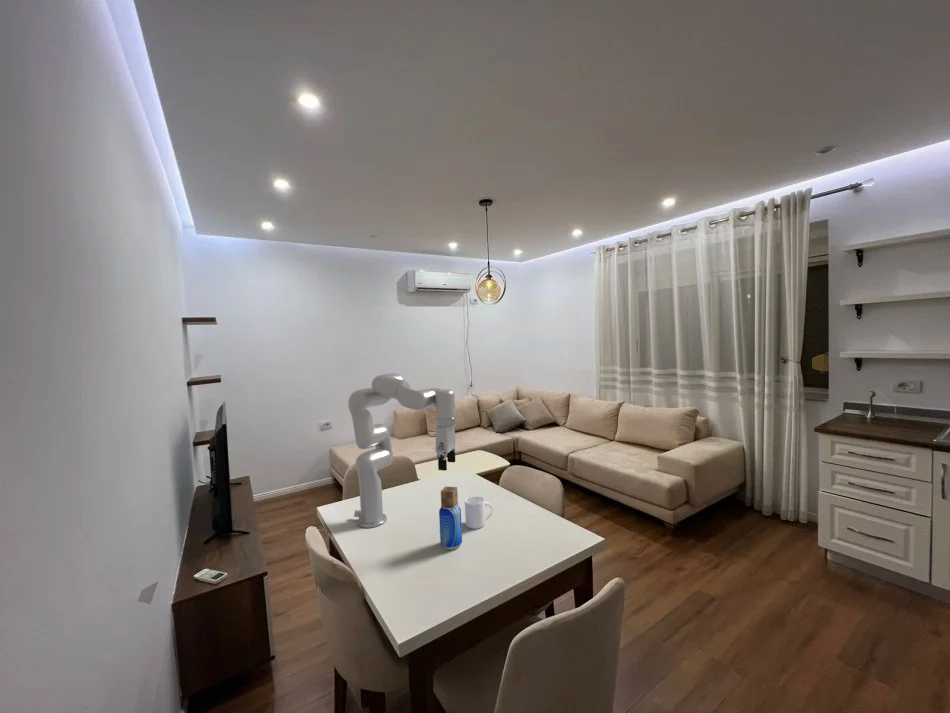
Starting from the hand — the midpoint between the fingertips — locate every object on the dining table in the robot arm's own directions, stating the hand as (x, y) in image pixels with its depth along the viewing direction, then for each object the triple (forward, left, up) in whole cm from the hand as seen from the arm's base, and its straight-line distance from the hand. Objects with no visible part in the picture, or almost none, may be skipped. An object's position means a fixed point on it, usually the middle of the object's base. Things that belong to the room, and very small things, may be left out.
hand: (447, 465), depth 149 cm
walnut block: (0, 0, -15) cm, 15 cm away
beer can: (0, 0, -31) cm, 31 cm away
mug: (+6, +19, -31) cm, 37 cm away
